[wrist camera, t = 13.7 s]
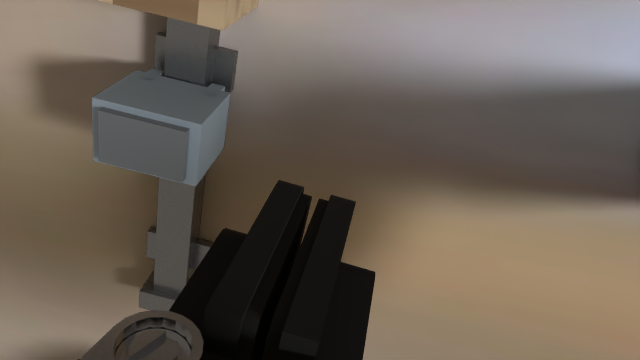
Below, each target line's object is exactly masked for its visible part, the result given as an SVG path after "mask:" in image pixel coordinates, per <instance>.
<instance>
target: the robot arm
mask: <svg viewBox="0 0 640 360" xmlns="http://www.w3.org/2000/svg"><path fill="white" fill-rule="evenodd" d="M303 192H304V187H302V186H298V185H295V184H291V183H288V182H284V181H281V180H279V181H278V182H277V184H276V185H275V187H274V189H273V191H272V192H271V194H270V196H269V198H268V199H267V201H266V203H265V205H264V206H263V208H262V210H261V212H260V213H259V215H258V217H257V219H256V220H255V222H254V224H253V225H252V227H251V229H250V231H249V232H248V234H244V233H241V232H237V231H234V230H230V229H227V228H225V229H223V230H222V231H221V233H220V234H219V235H218V237H217V238H216V240H215V241H214V243H213V245H212V246H211V248H210V249H209V251H208V252H207V254H206V255H205V257H204V258H203V260H202V261H201V263H200V264H199V266H198V267H197V269H196V270H195V272H194V273H193V275H192V276H191V278H190V279H189V281H188V282H187V284H186V285H185V287H184V288H183V290H182V291H181V293H180V294H179V296H178V297H177V299H176V300H175V302H174V303H173V305H172V306H171V308H170V309H169V311H163V310H151V311H145V312H139V313H136V314H134V315H131V316H129V317H127V318H125V319H123V320H122V321H121V322H119V323H118V324H116V325H115V326H114V327H113V328H112V329H111V330H110V331H109V332H107V333H106V334H105V335H104V336H103V337H102V338H101V339H100V340H99V341H98V342H97V343H96V344H95V345H94V346H93V347H92V348H91V349H90V350H89V351H88V352H87V353H86V354H85V355H84V356H83V357H82V358H81V359H78V360H363V353H364V347H365V340H366V333H367V327H368V320H369V314H370V307H371V301H372V294H373V287H374V281H375V272H374V271H370V270H367V269H363V268H360V267H357V266H353V265H350V264H346V263H343V262H340V261H341V257H342V253H343V250H344V246H345V242H346V238H347V234H348V230H349V226H350V223H351V219H352V215H353V211H354V207H355V203H356V202H355V201H351V200H348V199H344V198H341V197H337V196H334V195H331V196H330V199H329V201H326V200H323V199H319V201H318V203H317V206H316V208H315V211H314V213H313V216H312V218H311V221H310V224H309V226H308V229H307V231H306V234H305V236H304V239H303V241H302V237H303V233H304V229H305V225H306V220H307V216H308V212H309V208H310V204H311V199H312V196H309V195H305V194H303ZM301 241H302V244H301ZM300 246H301V247H300Z"/></svg>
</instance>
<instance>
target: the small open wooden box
mask: <svg viewBox="0 0 640 360" xmlns="http://www.w3.org/2000/svg"><path fill="white" fill-rule="evenodd" d="M99 1H103V2H107V3H111V4H115V5H120V6H124V7H128V8H132V9H136V10H140V11H144V12H148V13H152V14H156V15H161V16H165V17H169V18H173V19H177V20H181V21H185V22H189V23H193V24H197V25H202V26H206V27H210V28H214V29H218V30H222V31H223V30H224V29H226V28H227V27H228V26H230V25H231V24H233V23H234V22H236V21H237V20H238V19H240V18H241V17H243V16H244V15H246V14H247V13H248V12H250V11H251V10H253V9H254V8H256V7H257V6H258V0H99Z"/></svg>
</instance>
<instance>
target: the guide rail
mask: <svg viewBox="0 0 640 360" xmlns="http://www.w3.org/2000/svg"><path fill="white" fill-rule="evenodd" d="M219 36H220V30H218V29H214V28H210V27H206V26H202V25H197V24H193V23H189V22H185V21H181V20H177V19H173V18H169V17H167V30H166V33H162V32H159V33H157V34H155V56H154V69H157V70H161V71H164V77H167V78H171V79H175V80H180V81H184V82H188V83H192V84H196V85H200V86H204V87H208V86H209V85H211V84H212V83H214V84H218V85H222V86H225V91H226V92H231V91H232V90H233V87H234V79H235V71H236V63H237V55H238V51H235V50H231V49H227V48H223V47H219V46H218V45H219ZM204 181H205V175H204V176H203V177H202V179H201V180H200V181H199V183H198V184H197V186H192V185H188V184H184V183H180V182H176V181H172V180H168V179H164V178H160V177H159V188H158V208H157V228H155V227H151V228H150V229H149V230H148V232H147V257H148V258H152V259H155V267H154V271H153V272H152V274H151V275H150V277H149V278H148V280H147V281H146V283H145V284H144V285H143V287H142V288H141V290H140V294H139V307H140V308H144V309H148V310H163V311H169V309H170V308H171V306H172V305H173V303H174V302H175V300H176V299H177V297H178V296H179V294H180V293H181V291H182V290H183V288H184V287H185V285H186V284H187V282H188V281H189V279H190V278H191V276H192V275H193V273H194V272H195V270H196V269H197V267H198V266H199V264H200V263H201V261H202V260H203V258H204V257H205V255H206V254H207V252H208V251H209V249H210V248H211V246H212V245H213V243H214V242H210V241H206V240H202V239H199V230H200V220H201V210H202V201H203V191H204Z"/></svg>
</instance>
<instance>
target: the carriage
mask: <svg viewBox="0 0 640 360" xmlns="http://www.w3.org/2000/svg"><path fill="white" fill-rule="evenodd" d="M229 100H230V93H228V92H225V86H222V85H218V84H214V83H212V84H211V85H209V86H208V87H204V86H200V85H196V84H192V83H188V82H184V81H180V80H175V79H171V78H167V77H164V71H161V70H157V69H153V68H151V69H150V70H148V71H147V72H143V71H139V70H135V71H134V72H132V73H130V74H129V75H127V76H126V77H124V78H122V79H121V80H119V81H117V82H116V83H114V84H113V85H111V86H109V87H108V88H106V89H105V90H103V91H101V92H100V93H98V94H97V95H95V96H93V97H92V125H93V161H96V162H100V163H104V164H108V165H112V166H116V167H120V168H124V169H128V170H132V171H136V172H140V173H144V174H148V175H152V176H156V177H160V178H164V179H168V180H172V181H176V182H180V183H184V184H188V185H192V186H197V184H198V183H199V181H200V180H201V179H202V177H203V176H204V175H205V173H206V172H207V170H208V169H209V168H210V166H211V165H212V164H213V162H214V161H215V160H216V158H217V157H218V155H219V154H220V153H221V151H222V150H223V149H224V142H225V133H226V125H227V117H228V109H229Z"/></svg>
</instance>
